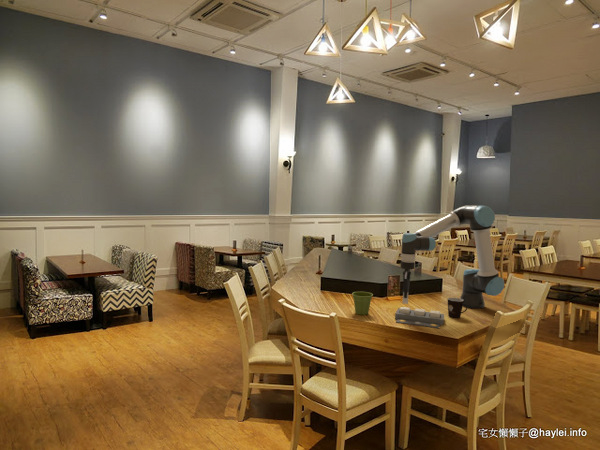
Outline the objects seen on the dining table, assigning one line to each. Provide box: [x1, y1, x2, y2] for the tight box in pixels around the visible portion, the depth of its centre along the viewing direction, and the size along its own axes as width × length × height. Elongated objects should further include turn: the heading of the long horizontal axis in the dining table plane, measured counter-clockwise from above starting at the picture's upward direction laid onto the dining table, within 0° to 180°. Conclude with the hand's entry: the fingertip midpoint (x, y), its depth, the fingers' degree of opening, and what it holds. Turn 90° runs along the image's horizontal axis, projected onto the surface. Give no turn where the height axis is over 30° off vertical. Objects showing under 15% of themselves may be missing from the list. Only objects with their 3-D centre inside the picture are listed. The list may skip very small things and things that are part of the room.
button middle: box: [414, 308, 426, 316], centre depth 237 cm, size 5×5×2 cm
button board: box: [394, 307, 445, 326], centre depth 237 cm, size 25×12×3 cm, turn 69°
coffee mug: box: [446, 297, 468, 319], centre depth 243 cm, size 12×9×10 cm
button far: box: [400, 306, 411, 314], centre depth 240 cm, size 5×5×2 cm
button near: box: [429, 310, 441, 318], centre depth 234 cm, size 5×5×2 cm
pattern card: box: [395, 319, 441, 329], centre depth 229 cm, size 22×6×1 cm, turn 69°
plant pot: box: [351, 291, 374, 316], centre depth 244 cm, size 12×12×11 cm
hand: (405, 303), depth 240 cm, fingers closed
